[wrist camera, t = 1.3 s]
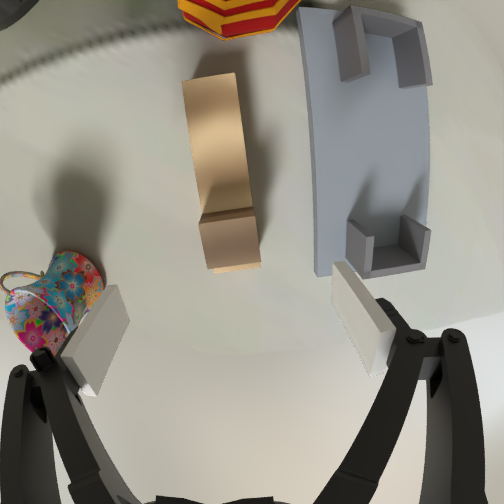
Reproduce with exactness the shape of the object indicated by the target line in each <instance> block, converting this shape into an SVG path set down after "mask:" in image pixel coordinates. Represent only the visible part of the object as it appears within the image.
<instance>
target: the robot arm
mask: <svg viewBox="0 0 504 504" xmlns="http://www.w3.org/2000/svg"><path fill="white" fill-rule="evenodd" d="M37 1H38V0H0V31H1V30H4V29H6V28H8V27H9V26H11V25H12V24H14V23H15V22H17V21H18V20H19V19H20V18H21V17H23V16H24V15H25V14H26V13H27V12H28V11H29V10H30V9H31V8H32V7H33V6H34V5H35V4H36V3H37ZM331 302H332V304H333V306H334V308H335V310H336V312H337V314H338V316H339V318H340V319H341V321H342V323H343V325H344V327H345V329H346V331H347V333H348V335H349V337H350V339H351V341H352V343H353V345H354V347H355V349H356V351H357V353H358V355H359V357H360V359H361V361H362V363H363V365H364V367H365V369H366V371H367V373H368V375H369V377H371V376H375V375H379V374H382V373H384V371H385V368H386V365H387V366H388V371H387V373H386V376H385V378H384V380H383V383H382V385H381V387H380V390H379V392H378V394H377V396H376V399H375V401H374V403H373V405H372V407H371V409H370V411H369V413H368V416H367V418H366V420H365V422H364V424H363V425H362V427H361V429H360V431H359V433H358V435H357V437H356V439H355V441H354V442H353V444H352V446H351V448H350V449H349V451H348V453H347V455H346V456H345V458H344V460H343V461H342V463H341V465H340V466H339V468H338V469H337V470H336V471H335V473H334V474H333V476H332V477H331V478H330V480H329V481H328V483H327V484H326V486H325V487H324V489H323V491H322V492H321V493H320V495H319V496H318V497H317V499H316V500H315V502H314V503H313V504H369V502H370V500H371V498H372V497H373V495H374V493H375V491H376V489H377V487H378V482H379V479H380V477H381V475H382V473H383V471H384V469H385V467H386V465H387V462H388V460H389V458H390V456H391V454H392V451H393V449H394V446H395V444H396V442H397V440H398V437H399V435H400V432H401V429H402V427H403V424H404V421H405V418H406V416H407V413H408V410H409V407H410V404H411V401H412V398H413V395H414V392H415V388H416V384H417V381H418V380H426V384H427V436H426V452H425V464H424V465H425V466H424V474H423V482H422V489H421V495H420V502H419V504H488V501H487V498H486V495H485V491H484V490H485V455H484V454H485V451H484V436H483V425H482V416H481V408H480V401H479V395H478V389H477V383H476V378H475V373H474V369H473V364H472V360H471V355H470V351H469V347H468V343H467V340H466V337H465V335H464V334H463V333H462V332H461V331H459V330H457V329H453V328H449V329H446V330H444V331H443V333H442V335H441V337H440V338H439V337H438V338H427V337H426V335H425V334H424V333H422V332H421V331H419V330H415V329H411V328H410V327H409V325H408V324H407V323H406V321H405V320H404V319H403V318H402V316H401V315H400V314H399V313H398V311H397V310H396V309H395V307H394V306H393V305H392V304H391V303H390V302H389V301H387V300H386V299H384V298H379V299H374V298H373V296H372V295H371V294H370V292H369V291H368V290H367V288H366V287H365V286H364V285H363V283H362V282H361V281H360V279H359V278H358V277H357V276H356V274H355V273H354V272H353V271H352V269H351V268H350V267H349V265H348V264H347V263H346V262H345V261H339V262H333V270H332V292H331ZM129 322H130V320H129V317H128V314H127V311H126V309H125V306H124V303H123V300H122V297H121V294H120V292H119V289H118V286H117V285H108V286H106V288H105V289H104V290H103V292H102V293H101V295H100V296H99V298H98V299H97V300H96V302H95V303H94V305H93V306H92V308H91V309H90V311H89V312H88V313H87V315H86V316H85V318H84V319H83V321H82V322H81V324H80V325H79V327H76V328H75V329H74V330H72V331H71V332H70V333H69V335H68V336H67V338H66V340H65V341H64V343H63V345H62V346H61V347H60V349H59V351H58V352H57V354H56V355H55V357H54V355H53V354H52V352H51V350H50V348H49V347H47V346H42V347H39V348H37V349H36V350H34V351H33V352H32V354H31V356H30V361H31V362H32V364H33V366H34V367H35V369H36V370H35V371H29V370H28V368H27V367H26V365H23V364H22V365H18V366H16V367H14V368H13V370H12V371H11V373H10V376H9V380H8V386H7V391H6V397H5V403H4V410H3V419H2V428H1V442H0V491H1V504H61V500H60V495H59V490H58V484H57V477H56V470H55V461H54V451H53V439H52V432H53V435H54V438H55V442H56V445H57V447H58V450H59V453H60V456H61V458H62V461H63V464H64V466H65V469H66V471H67V473H68V476H69V478H70V480H71V484H69V485H68V490H69V492H70V495H71V497H72V499H73V501H74V503H75V504H142V503H141V502H140V501H139V500H138V499H137V498H136V497H135V496H134V495H133V494H132V492H131V491H130V489H129V488H128V486H127V485H126V483H125V482H124V480H123V478H122V477H121V475H120V474H119V472H118V470H117V469H116V467H115V465H114V464H113V462H112V460H111V458H110V457H109V455H108V453H107V451H106V450H105V448H104V446H103V444H102V442H101V440H100V438H99V436H98V434H97V432H96V430H95V428H94V426H93V424H92V422H91V420H90V418H89V415H88V413H87V411H86V409H85V406H84V404H83V402H82V399H81V397H80V396H79V394H78V391H79V388H81V390H82V391H83V393H84V394H85V395H89V396H97V395H98V393H99V390H100V388H101V385H102V383H103V380H104V378H105V375H106V373H107V371H108V368H109V366H110V364H111V361H112V359H113V357H114V354H115V352H116V350H117V348H118V345H119V343H120V341H121V339H122V336H123V334H124V332H125V330H126V328H127V326H128V324H129ZM145 504H203V503H199V502H195V501H191V500H188V499H184V498H176V497H164V496H156V501H152V502H148V503H145ZM223 504H289V503H284V502H276V501H274V500H273V496H272V497H261V498H247V499H240V500H237V501H232V502H228V503H223Z"/></svg>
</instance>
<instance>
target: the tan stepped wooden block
mask: <svg viewBox="0 0 504 504" xmlns="http://www.w3.org/2000/svg"><path fill="white" fill-rule="evenodd" d="M182 88H183V95H184V103H185V110H186V117H187V124H188V131H189V137H190V144H191V150H192V157H193V163H194V169H195V175H196V181H197V187H198V192H199V198H200V204H201V209H202V216H201V219H200V221H199V230H200V235H201V240H202V245H203V249H204V254H205V259H206V264H207V268H208V269H213V271H214V274H215V273H222V272H229V271H237V270H244V269H251V268H258V267H260V262H261V258H260V250H259V242H258V234H257V226H256V218H255V213H254V209H253V204H252V196H251V189H250V181H249V173H248V166H247V158H246V151H245V143H244V136H243V128H242V121H241V113H240V106H239V99H238V91H237V84H236V77H235V73H228V74H221V75H214V76H208V77H202V78H197V79H191V80H186V81H182Z"/></svg>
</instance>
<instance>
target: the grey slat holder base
mask: <svg viewBox="0 0 504 504" xmlns="http://www.w3.org/2000/svg"><path fill="white" fill-rule="evenodd" d="M296 18H297V24H298V31H299V38H300V45H301V53H302V60H303V69H304V78H305V87H306V97H307V108H308V119H309V132H310V146H311V163H312V184H313V213H314V272H315V274H316V276H317V277H323V276H331V275H332V270H333V262H339V261H345V262H346V263H347V264H348V265H349V267H350V268H351V269H352V271H353V272H357V273H358V274H359V275H360V276H361V278H362V279H369V278H376V277H382V276H388V275H394V274H400V273H405V272H411V271H417V270H422V269H425V267H426V261H427V255H428V249H429V242H430V235H431V230H430V229H428V228H427V227H426V217H427V207H428V193H429V172H430V131H429V111H428V98H427V88H426V86H430V85H433V84H432V76H431V68H430V62H429V56H428V50H427V44H426V39H425V35H424V30H423V26H422V22H420V21H417V20H413V19H410V18H407V17H403V16H400V15H396V14H392V13H388V12H384V11H380V10H375V9H370V8H365V7H360V6H354V5H350V6H349V7H348V8H347V9H346V10H345V11H339V10H331V9H321V8H308V7H298V9H297V11H296Z"/></svg>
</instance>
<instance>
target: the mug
mask: <svg viewBox="0 0 504 504" xmlns="http://www.w3.org/2000/svg"><path fill="white" fill-rule="evenodd" d="M11 277H28V278H32V279H35V280H38V281H36V282H35V283H33V284H30V285H27V286H23V287H17V288H14V289H12V290H11V291H9V290H8V289H6V288H5V287H4V285H3V281H4V280H5V279H7V278H11ZM0 288H1V290H2V291H3V293H5V294H6V295H7V297H6V301H5V310H6V315H7V318H8V321H9V324H10V326H11V328H12V329H13V331H14V333H15V334H16V336H17V337H18V338H19V340H20V341H21V342H22V343H23V344H24V345H25V346H26V347H27V348H28V349H29V350H30V351H31V352H33V351H34V350H36V349H37V348H39V347H42V346H47V347H49V348H50V350H51V352H52V354H53V355H54V357H55V355H56V354H57V352H58V351H59V349H60V347H61V346H62V345H63V343H64V341H65V340H66V338H67V336H68V335H69V333H70V332H71V331H72V330H74V329H75V328H76V327H78V325H79V323H80V321H81V319H82V317H83V316H84V315H85V314H86V313H87V312H89V311H90V309H91V308H92V306H93V305H94V303H95V302H96V300H97V299H98V298H99V296H100V295H101V293H102V292H103V290H104V286H103V282H102V279H101V276H100V274H99V272H98V270H97V269H96V267H95V266H94V265H93V264H92V263H91V262H90V261H89V260H88V259H87V258H86V257H84V256H83V255H81V254H79V253H76V252H73V251H63V252H60V253H58V254H56V255H55V256H54V257H53V258H52V260H51V262H50V264H49V269H48V271H47V272H46V274H45V275H44V272H43V271H41V273H40V275H37V274H34V273H30V272H24V271H14V272H8V273H6V274H4V275H3V276H2V277H1V278H0Z"/></svg>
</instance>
